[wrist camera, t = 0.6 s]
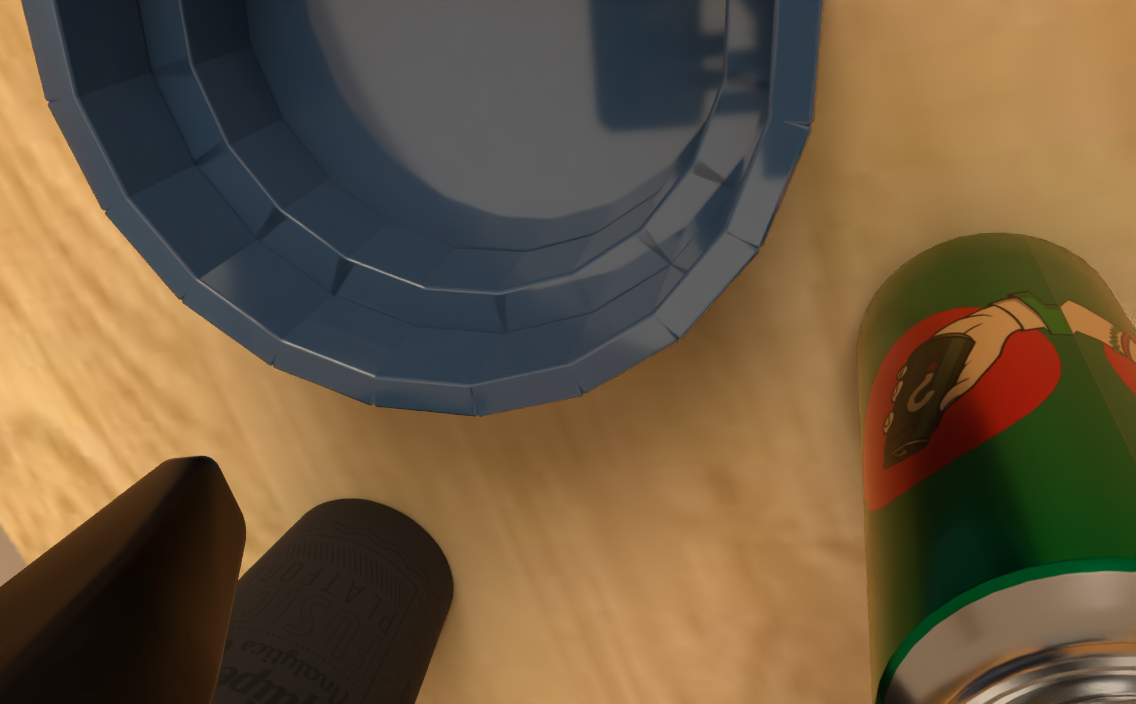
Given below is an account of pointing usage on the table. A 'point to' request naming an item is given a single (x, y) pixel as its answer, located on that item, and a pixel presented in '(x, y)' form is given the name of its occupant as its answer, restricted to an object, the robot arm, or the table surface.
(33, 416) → the table surface
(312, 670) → the drinking cup
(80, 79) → the bowl
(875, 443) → the soda can
